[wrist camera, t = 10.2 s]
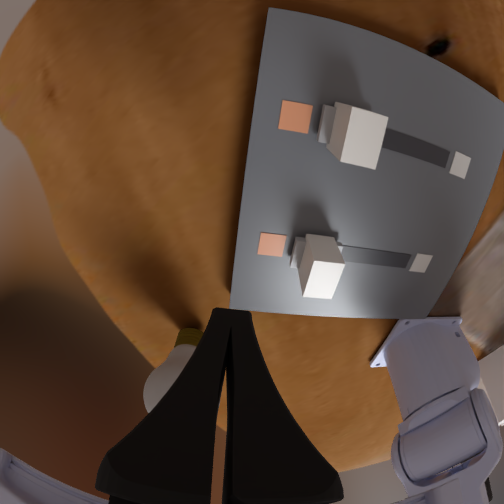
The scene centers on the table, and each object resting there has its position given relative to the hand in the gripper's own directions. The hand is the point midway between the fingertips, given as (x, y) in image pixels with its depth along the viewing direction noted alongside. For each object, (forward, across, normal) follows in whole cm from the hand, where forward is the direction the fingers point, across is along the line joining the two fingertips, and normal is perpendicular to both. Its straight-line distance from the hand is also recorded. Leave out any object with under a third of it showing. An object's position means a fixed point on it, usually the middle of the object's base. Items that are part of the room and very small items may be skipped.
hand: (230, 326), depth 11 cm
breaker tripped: (+8, -5, -7) cm, 11 cm away
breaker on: (+8, -5, +1) cm, 9 cm away
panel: (+9, -9, -3) cm, 13 cm away
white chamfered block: (+10, -47, +20) cm, 52 cm away
